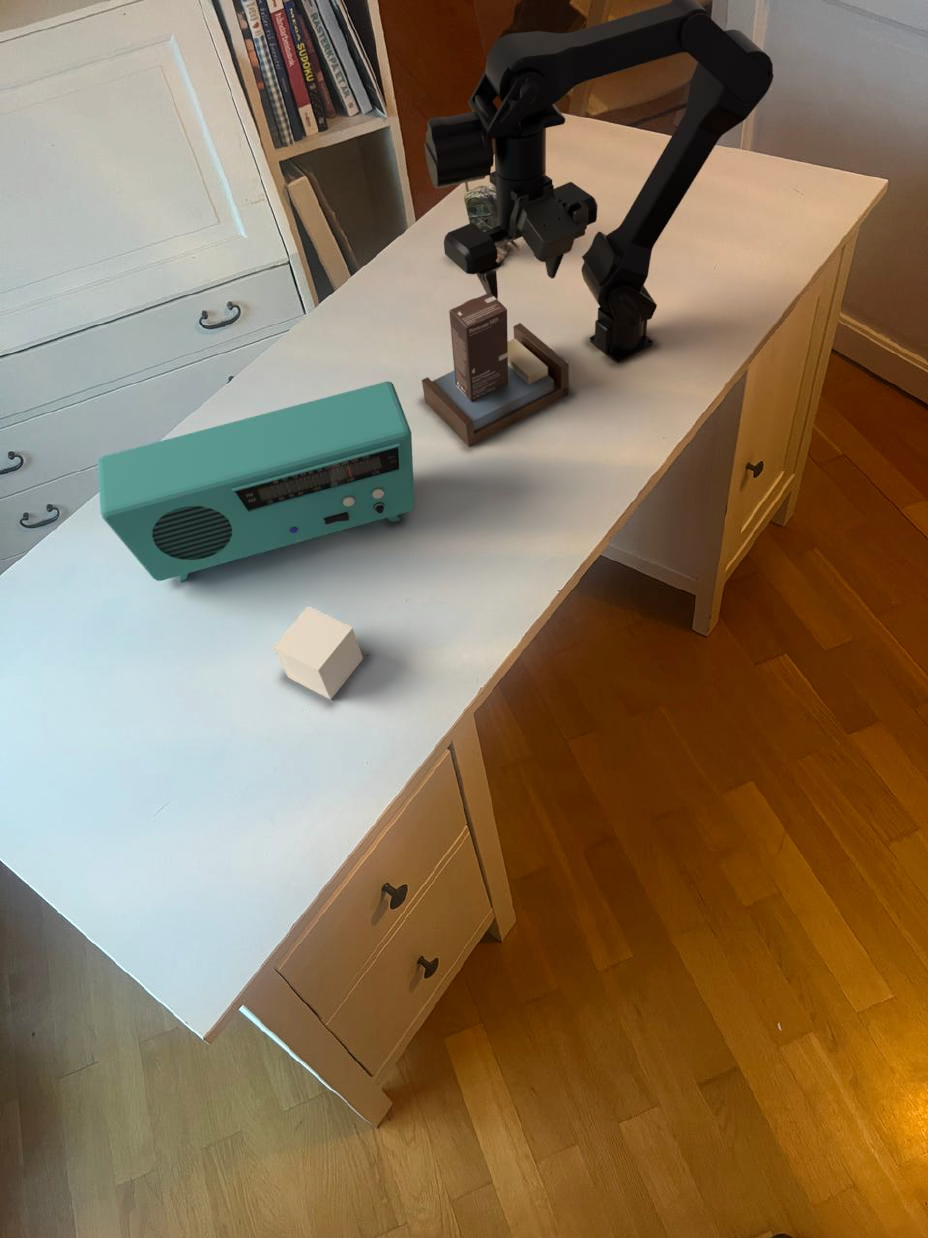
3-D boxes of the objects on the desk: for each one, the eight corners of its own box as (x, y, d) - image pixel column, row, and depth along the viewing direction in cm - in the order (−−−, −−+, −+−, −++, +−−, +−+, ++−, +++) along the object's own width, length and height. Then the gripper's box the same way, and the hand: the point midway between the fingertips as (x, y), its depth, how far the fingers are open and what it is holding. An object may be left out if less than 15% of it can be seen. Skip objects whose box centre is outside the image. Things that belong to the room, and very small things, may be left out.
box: (472, 404, 114) (465, 327, 104) (454, 385, 117) (446, 307, 107) (511, 385, 116) (508, 307, 106) (493, 367, 118) (488, 288, 108)
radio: (153, 606, 104) (98, 521, 92) (147, 542, 110) (95, 454, 98) (430, 528, 107) (413, 436, 95) (410, 470, 113) (391, 376, 101)
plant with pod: (500, 280, 135) (491, 148, 118) (441, 259, 139) (424, 129, 123) (529, 252, 138) (525, 120, 122) (471, 233, 143) (459, 103, 126)
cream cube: (330, 700, 94) (317, 670, 90) (287, 677, 97) (272, 647, 92) (363, 658, 97) (352, 627, 92) (320, 636, 99) (307, 605, 94)
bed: (521, 353, 124) (520, 322, 120) (568, 394, 118) (568, 363, 114) (425, 402, 120) (420, 371, 116) (468, 447, 115) (465, 416, 110)
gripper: (489, 227, 93) (495, 350, 106) (631, 168, 98) (620, 292, 111) (435, 184, 99) (447, 305, 112) (571, 130, 104) (568, 252, 117)
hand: (522, 289), depth 112 cm, fingers open, 8 cm apart
